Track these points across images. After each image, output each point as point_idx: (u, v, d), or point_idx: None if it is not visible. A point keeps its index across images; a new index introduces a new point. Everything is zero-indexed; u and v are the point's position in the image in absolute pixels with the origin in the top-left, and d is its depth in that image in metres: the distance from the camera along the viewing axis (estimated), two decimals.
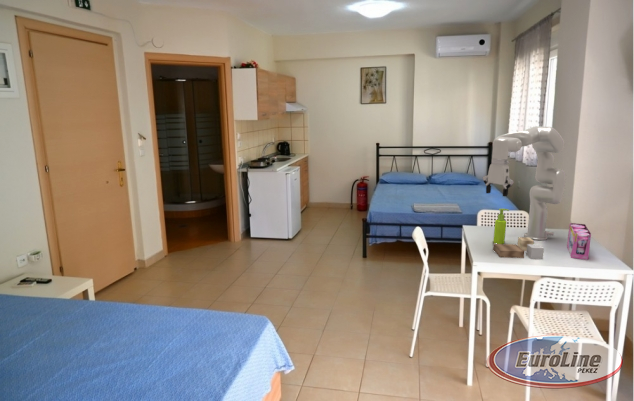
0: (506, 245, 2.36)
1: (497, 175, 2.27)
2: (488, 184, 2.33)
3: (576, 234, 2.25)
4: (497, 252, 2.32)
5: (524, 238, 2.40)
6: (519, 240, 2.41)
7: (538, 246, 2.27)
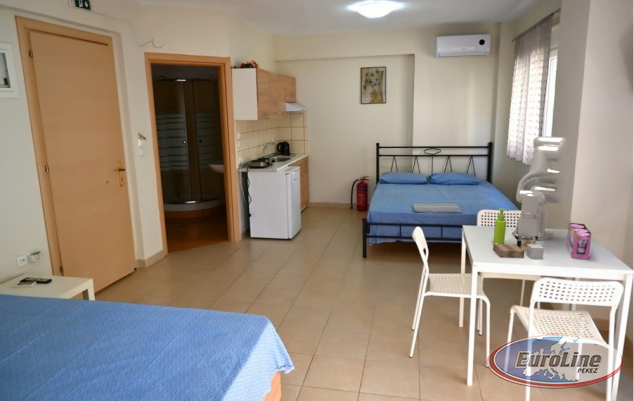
0: (506, 245, 2.36)
1: (531, 228, 2.36)
2: (520, 238, 2.39)
3: (576, 234, 2.25)
4: (497, 252, 2.32)
5: (524, 238, 2.40)
6: None
7: (538, 246, 2.27)
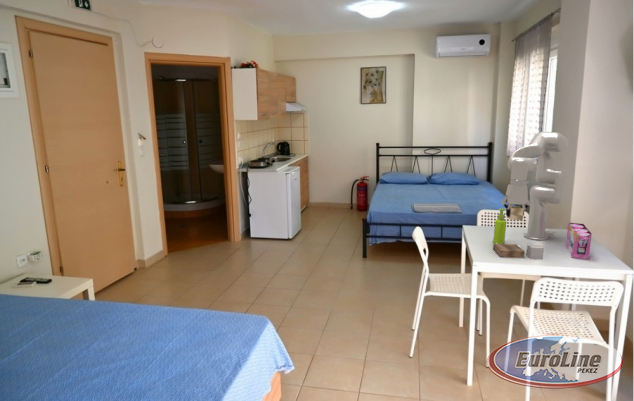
0: (506, 245, 2.36)
1: (520, 196, 2.26)
2: None
3: (577, 234, 2.25)
4: (497, 252, 2.32)
5: (514, 207, 2.30)
6: None
7: (538, 246, 2.27)
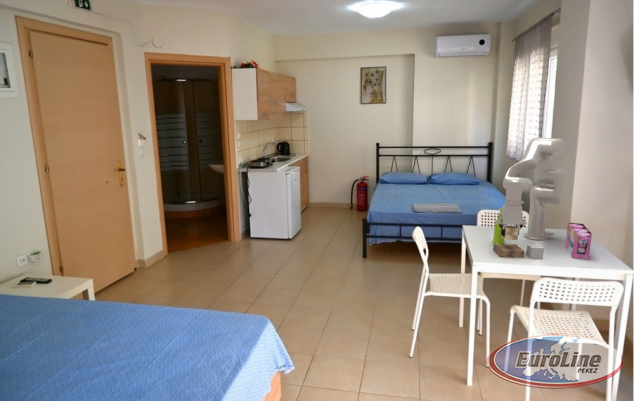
0: (506, 245, 2.36)
1: (515, 216, 2.27)
2: None
3: (577, 234, 2.25)
4: (497, 252, 2.32)
5: (509, 226, 2.31)
6: None
7: (538, 246, 2.27)
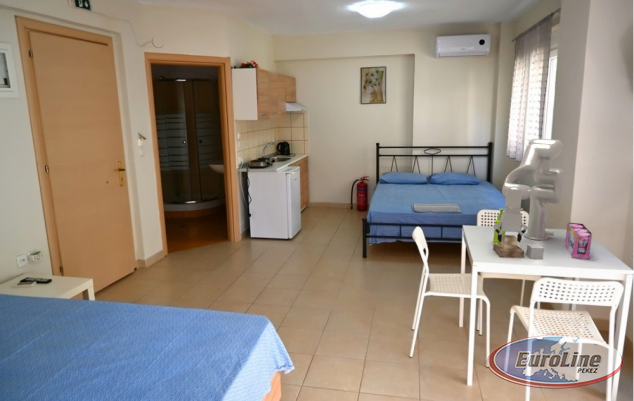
0: None
1: (514, 223, 2.27)
2: (501, 233, 2.30)
3: (577, 234, 2.25)
4: (497, 252, 2.32)
5: (508, 236, 2.32)
6: (502, 238, 2.33)
7: (538, 246, 2.27)
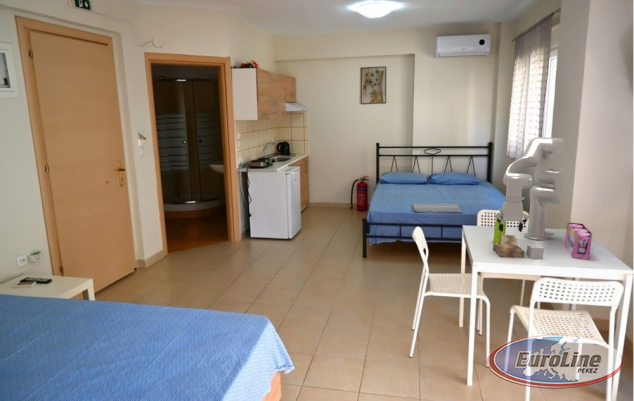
0: None
1: (516, 212, 2.26)
2: (503, 222, 2.29)
3: (577, 234, 2.25)
4: (497, 252, 2.32)
5: (508, 236, 2.32)
6: (502, 238, 2.33)
7: (538, 246, 2.27)
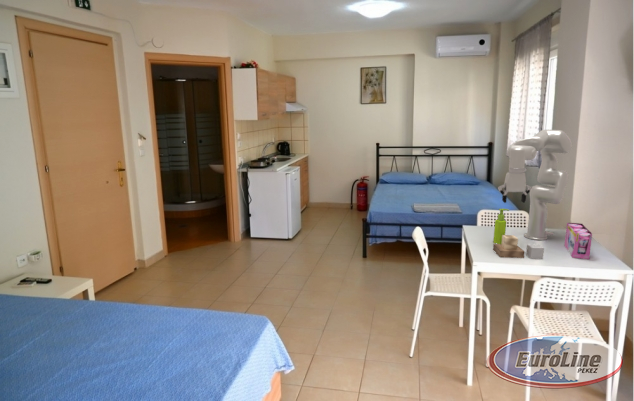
0: None
1: (519, 183, 2.31)
2: (506, 193, 2.34)
3: (577, 234, 2.25)
4: (497, 252, 2.32)
5: (508, 236, 2.32)
6: (503, 238, 2.33)
7: (538, 246, 2.27)
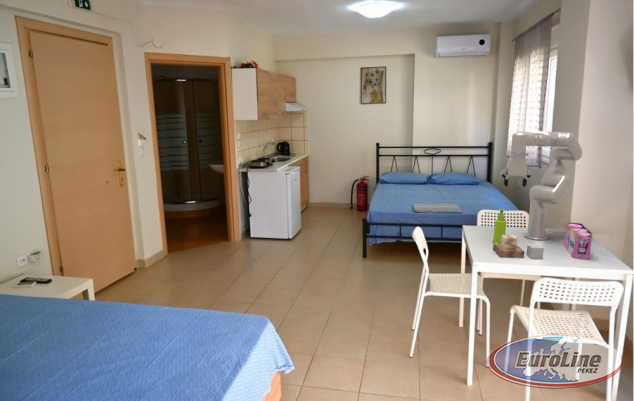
0: None
1: (520, 168, 2.40)
2: (507, 177, 2.43)
3: (578, 234, 2.25)
4: (497, 252, 2.32)
5: (508, 236, 2.32)
6: (502, 238, 2.33)
7: (538, 246, 2.27)
